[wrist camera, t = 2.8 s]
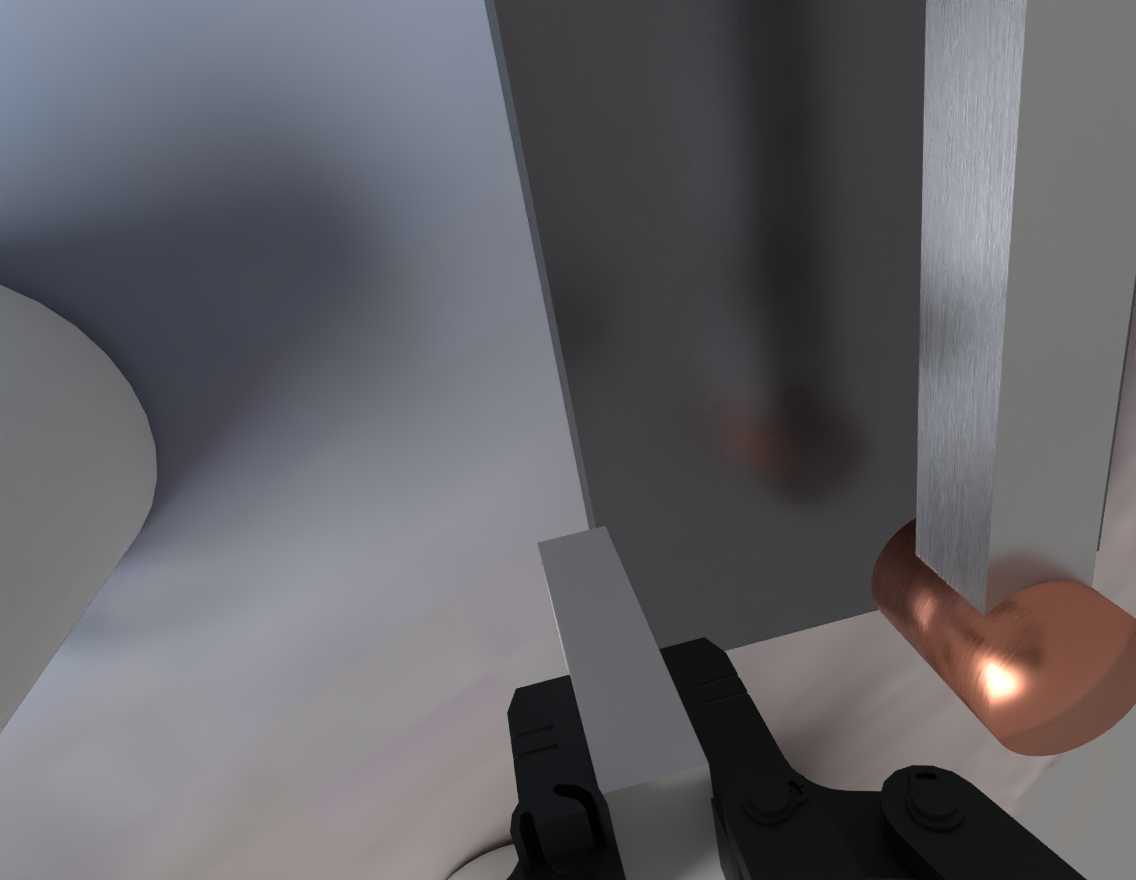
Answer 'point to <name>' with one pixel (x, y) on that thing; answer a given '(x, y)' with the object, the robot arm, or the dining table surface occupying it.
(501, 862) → the mug
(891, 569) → the lever
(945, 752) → the dining table surface
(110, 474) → the mug
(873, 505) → the press base
